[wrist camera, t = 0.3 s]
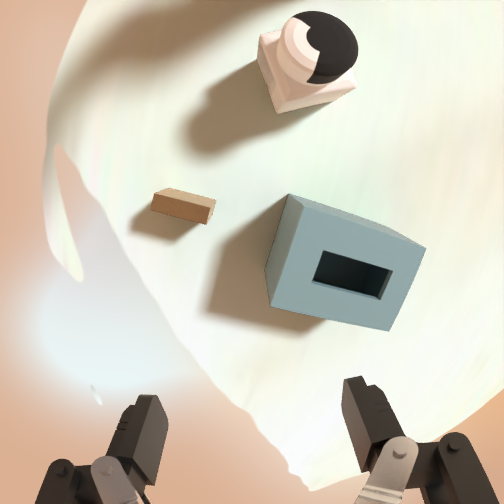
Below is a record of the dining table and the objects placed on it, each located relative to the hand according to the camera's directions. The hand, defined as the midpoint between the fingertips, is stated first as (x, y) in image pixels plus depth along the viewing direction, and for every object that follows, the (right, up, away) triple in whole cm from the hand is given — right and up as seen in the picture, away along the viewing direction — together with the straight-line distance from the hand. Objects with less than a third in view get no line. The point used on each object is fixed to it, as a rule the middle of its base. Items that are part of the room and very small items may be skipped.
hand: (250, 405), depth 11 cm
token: (-7, +13, +23) cm, 28 cm away
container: (+5, +27, +19) cm, 34 cm away
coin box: (+10, +7, +25) cm, 28 cm away
